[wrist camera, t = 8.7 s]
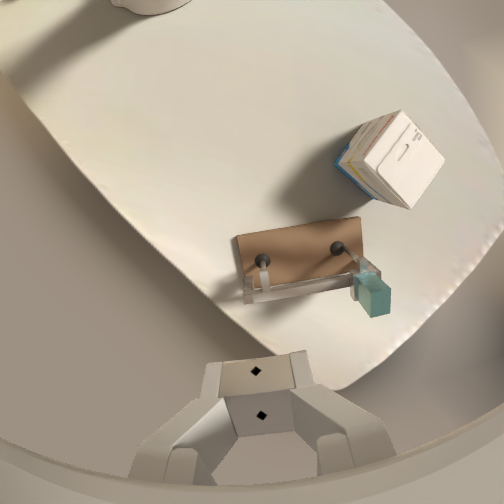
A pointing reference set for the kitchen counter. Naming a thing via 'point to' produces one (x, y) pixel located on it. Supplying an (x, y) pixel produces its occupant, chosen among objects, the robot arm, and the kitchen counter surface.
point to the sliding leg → (368, 287)
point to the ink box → (391, 160)
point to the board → (299, 259)
